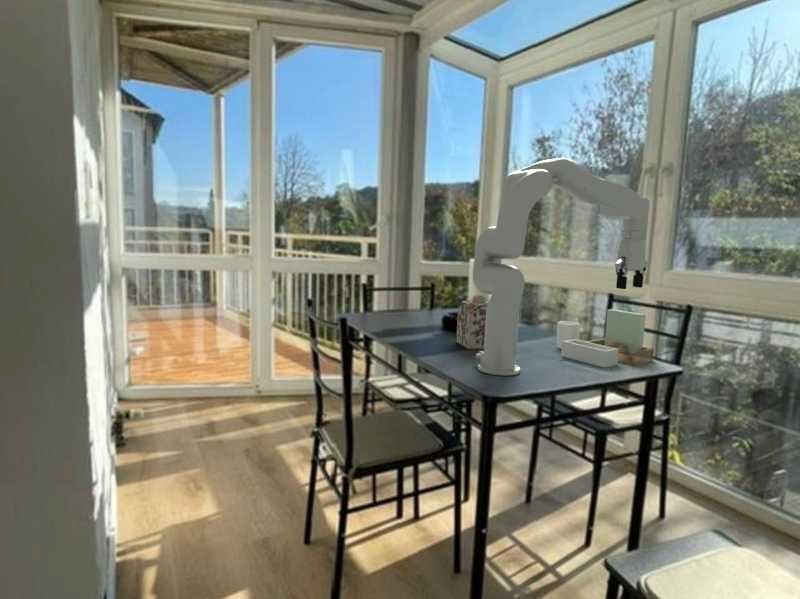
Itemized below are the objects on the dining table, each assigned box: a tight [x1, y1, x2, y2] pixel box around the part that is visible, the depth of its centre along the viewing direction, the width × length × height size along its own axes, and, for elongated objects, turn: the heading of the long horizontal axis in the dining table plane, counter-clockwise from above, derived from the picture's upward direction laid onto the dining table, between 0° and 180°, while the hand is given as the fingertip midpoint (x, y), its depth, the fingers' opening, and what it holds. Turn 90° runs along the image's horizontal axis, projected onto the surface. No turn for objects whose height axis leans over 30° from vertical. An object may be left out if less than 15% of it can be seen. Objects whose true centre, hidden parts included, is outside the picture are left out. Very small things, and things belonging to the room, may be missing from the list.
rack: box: [585, 337, 655, 366], centre depth 178 cm, size 18×12×5 cm, turn 36°
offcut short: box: [608, 342, 627, 352], centre depth 178 cm, size 5×3×2 cm, turn 36°
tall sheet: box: [604, 308, 647, 356], centre depth 179 cm, size 12×3×15 cm, turn 36°
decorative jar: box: [456, 294, 489, 350], centre depth 191 cm, size 12×12×18 cm
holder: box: [560, 339, 619, 368], centre depth 172 cm, size 16×7×6 cm, turn 36°
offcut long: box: [618, 351, 628, 355], centre depth 179 cm, size 8×3×2 cm, turn 36°
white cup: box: [556, 320, 582, 350], centre depth 189 cm, size 8×8×10 cm
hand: (629, 287), depth 177 cm, fingers open, 9 cm apart
